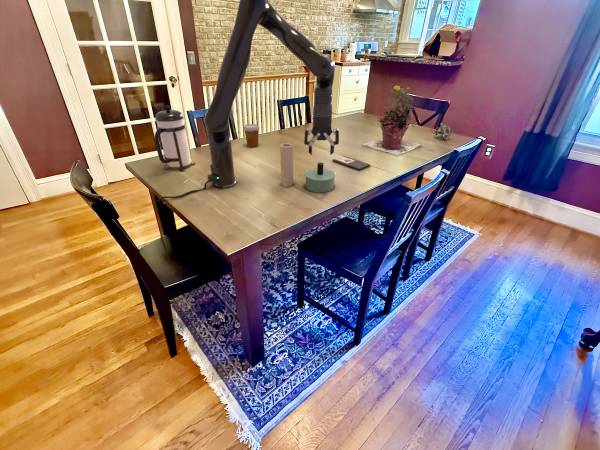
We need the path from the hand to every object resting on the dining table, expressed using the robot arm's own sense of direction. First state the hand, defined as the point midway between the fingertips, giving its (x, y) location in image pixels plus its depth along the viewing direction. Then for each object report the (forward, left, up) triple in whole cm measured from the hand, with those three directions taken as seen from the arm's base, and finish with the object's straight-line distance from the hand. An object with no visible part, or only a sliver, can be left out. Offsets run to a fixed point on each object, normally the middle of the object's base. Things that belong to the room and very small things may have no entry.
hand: (320, 154), depth 129 cm
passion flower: (+112, -11, -15) cm, 113 cm away
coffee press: (-31, +68, -15) cm, 76 cm away
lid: (0, 0, -9) cm, 9 cm away
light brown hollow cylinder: (-8, +13, -15) cm, 21 cm away
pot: (0, 0, -15) cm, 15 cm away
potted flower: (+76, +5, -15) cm, 78 cm away
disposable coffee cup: (+18, +68, -15) cm, 71 cm away
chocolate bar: (+33, +6, -15) cm, 37 cm away
